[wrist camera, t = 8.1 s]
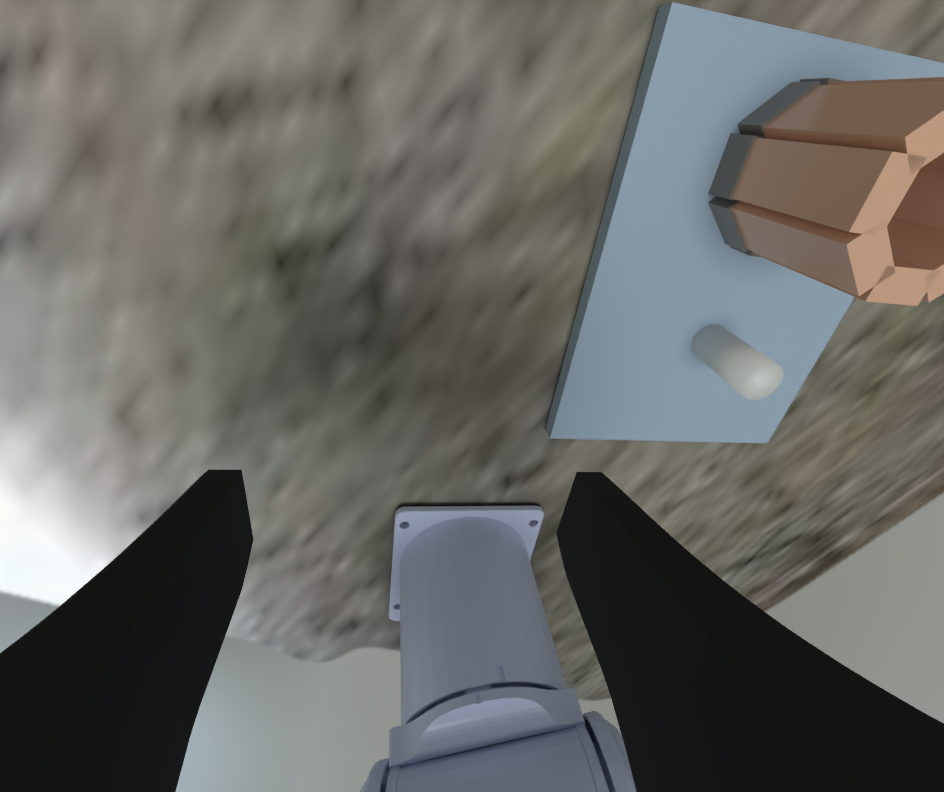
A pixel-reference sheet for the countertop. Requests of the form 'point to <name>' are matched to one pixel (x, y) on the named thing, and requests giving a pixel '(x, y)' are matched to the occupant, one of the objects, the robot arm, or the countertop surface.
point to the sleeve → (842, 186)
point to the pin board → (699, 248)
